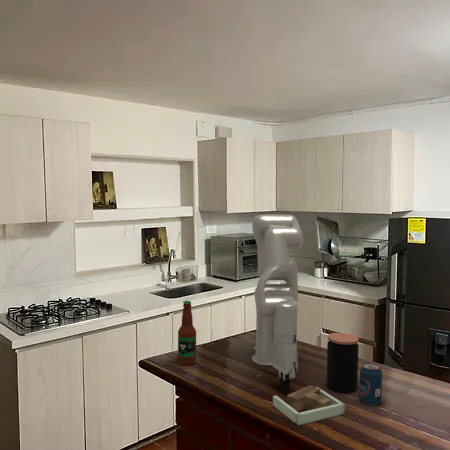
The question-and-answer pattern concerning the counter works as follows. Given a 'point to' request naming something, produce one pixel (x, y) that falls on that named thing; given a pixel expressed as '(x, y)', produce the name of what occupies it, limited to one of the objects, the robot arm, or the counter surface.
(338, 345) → the coffee jar
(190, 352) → the bottle
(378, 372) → the soda can
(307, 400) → the t block
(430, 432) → the counter surface
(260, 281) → the robot arm
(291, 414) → the frame
